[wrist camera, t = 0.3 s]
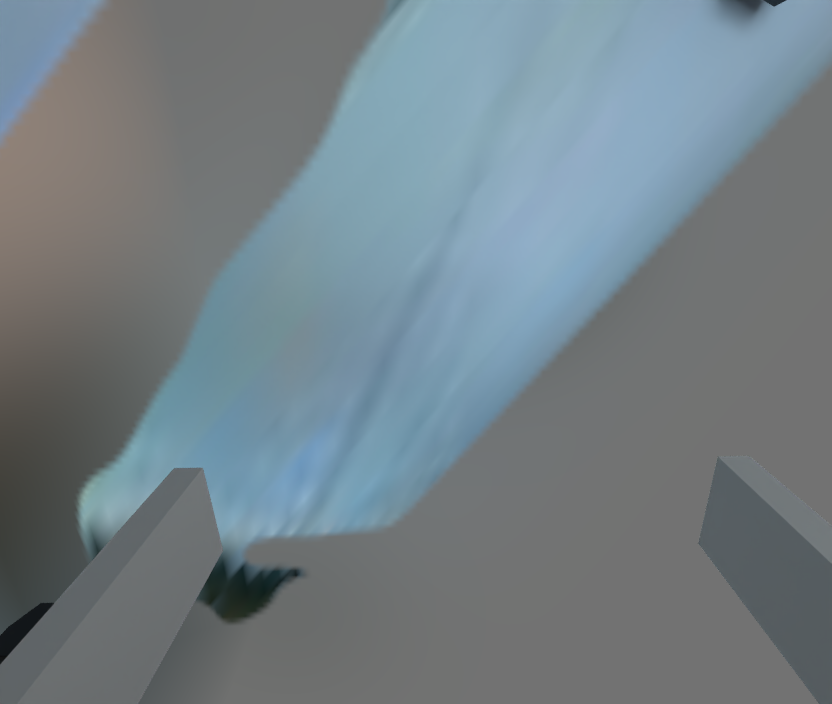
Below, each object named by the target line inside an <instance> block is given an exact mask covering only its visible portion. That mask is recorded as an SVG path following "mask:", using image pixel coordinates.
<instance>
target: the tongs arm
mask: <svg viewBox="0 0 832 704" xmlns="http://www.w3.org/2000/svg"><path fill="white" fill-rule="evenodd" d="M764 1H766V2H767V3H769V4H771V5H772V6H776V5H778V4H780V3H782V2H784V1H786V0H764Z"/></svg>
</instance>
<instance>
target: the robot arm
mask: <svg viewBox="0 0 832 704" xmlns="http://www.w3.org/2000/svg"><path fill="white" fill-rule="evenodd" d="M699 545H700V546H701V547H702V549H703V550H704V551H705V553H706V554H707V556H708V557H709V558H710V560H711V561H712V562H713V564H714V565H715V566H716V567H717V569H718V570H719V572H720V573H721V574H722V576H723V577H724V578H725V579H726V581H727V582H728V583H729V585H730V586H731V587H732V589H733V590H734V591H735V593H736V594H737V595H738V597H739V598H740V599H741V601H742V602H743V603H744V605H745V606H746V607H747V609H748V610H749V611H750V613H751V614H752V615H753V617H754V618H755V619H756V621H757V622H758V623H759V625H760V626H761V627H762V629H763V630H764V631H765V633H766V634H767V635H768V636H769V638H770V639H771V641H772V642H773V643H774V645H775V646H776V647H777V649H778V650H779V651H780V653H781V654H782V655H783V657H784V658H785V659H786V661H787V662H788V663H789V664H790V666H791V667H792V668H793V670H794V671H795V672H796V674H797V675H798V676H799V678H800V679H801V680H802V682H803V683H804V684H805V686H806V687H807V688H808V690H809V691H810V692H811V694H812V695H813V696H814V697H815V699H816V700H817V702H818V703H819V704H832V526H831V525H830V524H829V523H828V522H827V521H825V520H824V519H823V518H822V517H821V516H820V515H818V514H817V513H816V512H815V511H814V510H813V509H811V508H810V507H809V506H808V505H807V504H805V503H804V502H803V501H802V500H801V499H799V498H798V497H797V496H796V495H795V494H793V493H792V492H791V491H790V490H789V489H788V488H787V487H785V486H784V485H783V484H782V483H781V482H779V481H778V480H777V479H776V478H775V477H773V476H772V475H771V474H770V473H769V472H768V471H766V470H765V469H764V468H763V467H761V466H760V465H759V464H758V463H757V462H756V461H754V460H753V459H752V458H751V457H750V456H724V457H718V458H717V463H716V467H715V472H714V476H713V481H712V485H711V490H710V494H709V498H708V503H707V507H706V512H705V517H704V520H703V525H702V529H701V534H700V538H699ZM222 551H223V549H222V544H221V540H220V536H219V532H218V528H217V524H216V520H215V516H214V512H213V507H212V503H211V499H210V495H209V491H208V487H207V483H206V479H205V475H204V470H203V468H174V469H173V470H172V471H171V472H170V474H169V475H168V476H167V477H166V478H165V479H164V480H163V481H162V483H161V484H160V485H159V486H158V487H157V488H156V489H155V490H154V492H153V493H152V494H151V495H150V496H149V497H148V498H147V499H146V501H145V502H144V503H143V504H142V505H141V506H140V507H139V509H138V510H137V511H136V512H135V513H134V514H133V515H132V516H131V518H130V519H129V520H128V521H127V522H126V523H125V524H124V525H123V527H122V528H121V529H120V530H119V531H118V532H117V533H116V534H115V536H114V537H113V538H112V539H111V540H110V541H109V542H108V543H107V545H106V546H105V547H104V548H103V549H102V550H101V551H100V553H99V554H98V555H97V556H96V557H95V558H94V559H93V560H92V562H91V563H90V564H89V565H88V566H87V567H86V568H85V569H84V571H83V572H82V573H81V574H80V575H79V576H78V577H77V578H76V580H75V581H74V582H73V583H72V584H71V585H70V587H68V589H67V590H66V591H65V592H64V593H63V594H62V595H61V597H60V598H59V599H58V600H57V601H56V602H55V603H40V604H39V605H38V606H36V607H35V608H34V609H32V610H31V611H29V612H28V613H27V614H25V615H24V616H23V617H21V618H20V619H19V620H17V621H16V622H15V623H13V624H12V625H10V626H9V627H8V628H7V629H6V630H5V631H4V632H3V633H2V634H1V635H0V704H138V703H139V701H140V699H141V697H142V696H143V694H144V692H145V690H146V688H147V687H148V685H149V683H150V681H151V679H152V677H153V676H154V674H155V672H156V670H157V668H158V667H159V665H160V663H161V661H162V659H163V658H164V656H165V654H166V652H167V650H168V649H169V647H170V645H171V643H172V641H173V640H174V638H175V636H176V634H177V632H178V631H179V629H180V627H181V625H182V623H183V622H184V620H185V618H186V616H187V614H188V613H189V611H190V609H191V607H192V605H193V604H194V602H195V600H196V598H197V596H198V595H199V593H200V591H201V589H202V587H203V586H204V584H205V582H206V580H207V578H208V577H209V575H210V573H211V571H212V569H213V568H214V566H215V564H216V562H217V560H218V559H219V557H220V555H221V553H222Z"/></svg>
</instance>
